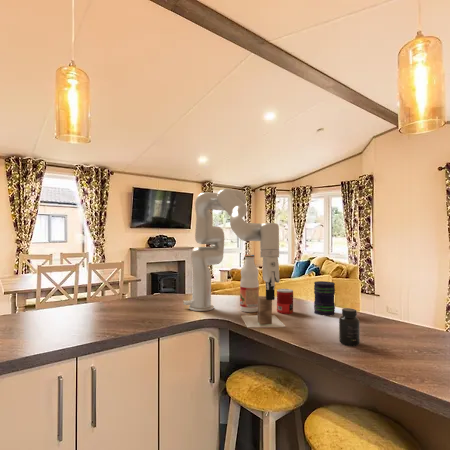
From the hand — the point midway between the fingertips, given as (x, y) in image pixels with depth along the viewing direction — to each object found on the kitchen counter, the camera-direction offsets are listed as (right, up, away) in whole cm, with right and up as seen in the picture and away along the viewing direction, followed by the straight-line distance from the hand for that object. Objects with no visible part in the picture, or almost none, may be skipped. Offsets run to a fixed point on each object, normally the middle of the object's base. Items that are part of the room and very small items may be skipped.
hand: (270, 299), depth 128 cm
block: (-1, -12, +8) cm, 15 cm away
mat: (-2, -13, +13) cm, 18 cm away
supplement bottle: (+26, -13, -14) cm, 32 cm away
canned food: (+12, -14, +30) cm, 35 cm away
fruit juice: (-6, -14, +34) cm, 37 cm away
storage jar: (+31, -14, +29) cm, 45 cm away
